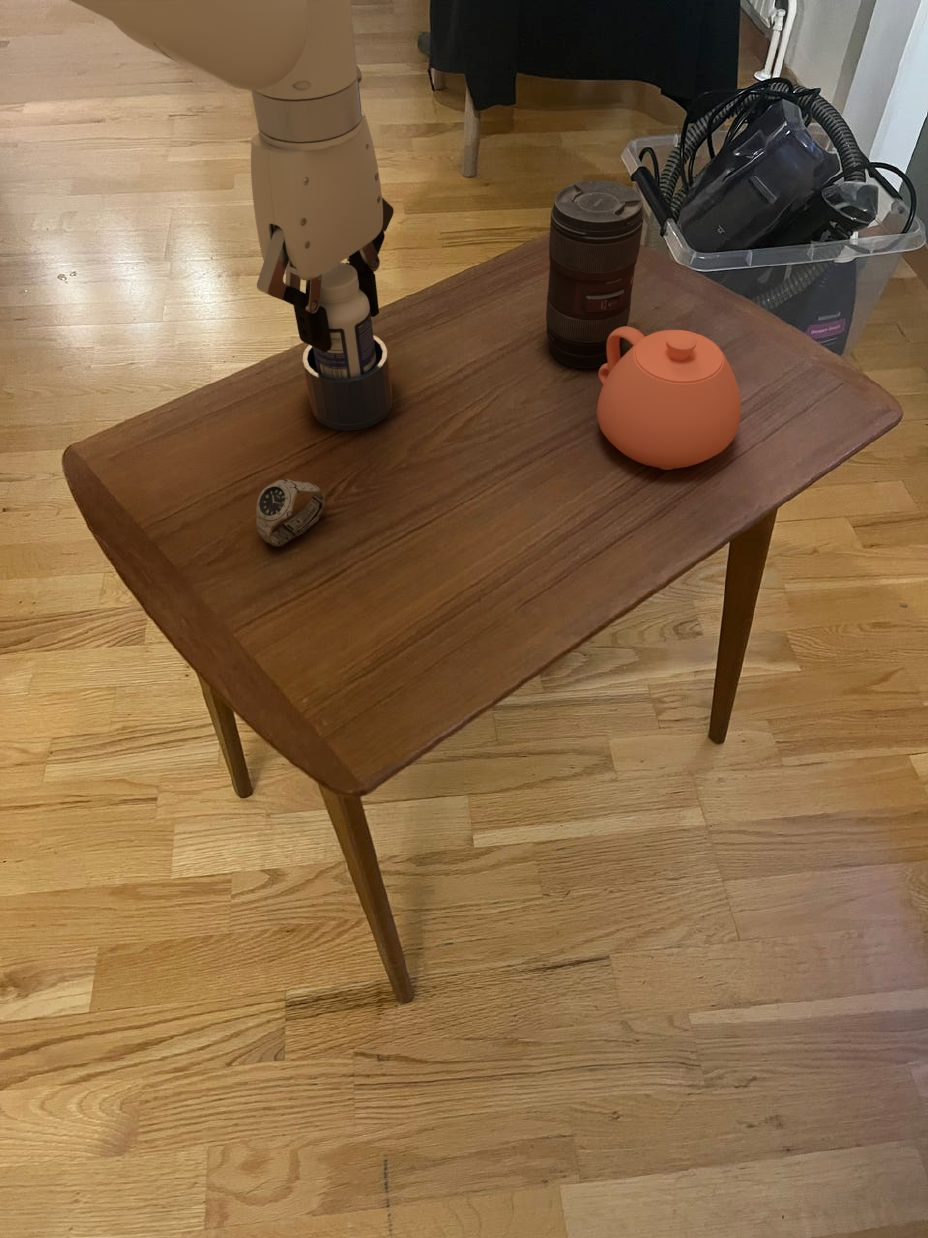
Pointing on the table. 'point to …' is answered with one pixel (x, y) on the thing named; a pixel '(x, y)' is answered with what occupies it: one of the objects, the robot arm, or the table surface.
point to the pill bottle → (346, 325)
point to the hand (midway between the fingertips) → (340, 325)
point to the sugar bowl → (667, 398)
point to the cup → (350, 393)
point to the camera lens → (591, 268)
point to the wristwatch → (286, 510)
